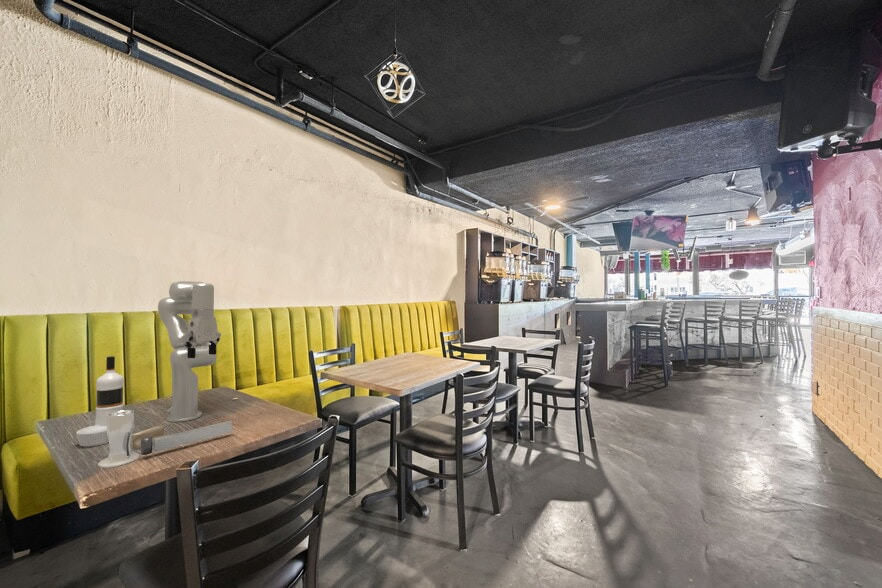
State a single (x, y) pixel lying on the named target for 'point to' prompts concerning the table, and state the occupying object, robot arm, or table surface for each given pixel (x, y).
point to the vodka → (109, 392)
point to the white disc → (106, 464)
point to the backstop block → (147, 435)
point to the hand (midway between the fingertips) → (202, 356)
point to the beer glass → (120, 434)
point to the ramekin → (92, 435)
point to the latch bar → (184, 437)
